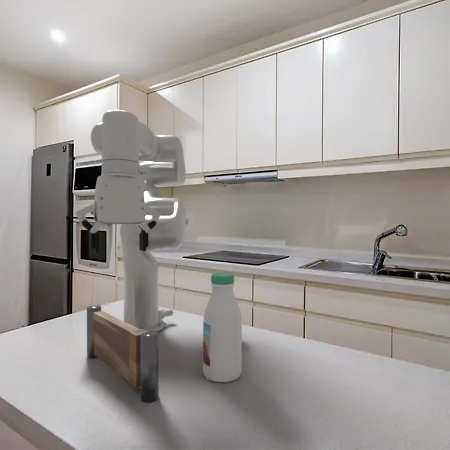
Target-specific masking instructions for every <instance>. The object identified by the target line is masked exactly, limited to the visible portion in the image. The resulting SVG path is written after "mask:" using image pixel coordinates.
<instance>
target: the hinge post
mask: <svg viewBox="0 0 450 450" xmlns="http://www.w3.org/2000/svg"><path fill="white" fill-rule="evenodd" d="M99 311H102V305H99V304H96V305H95V304H94V305H89V306H86V358H87V359H98V358H97V357H96V356H95V355H94V319H93V313H94V312H99Z"/></svg>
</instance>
